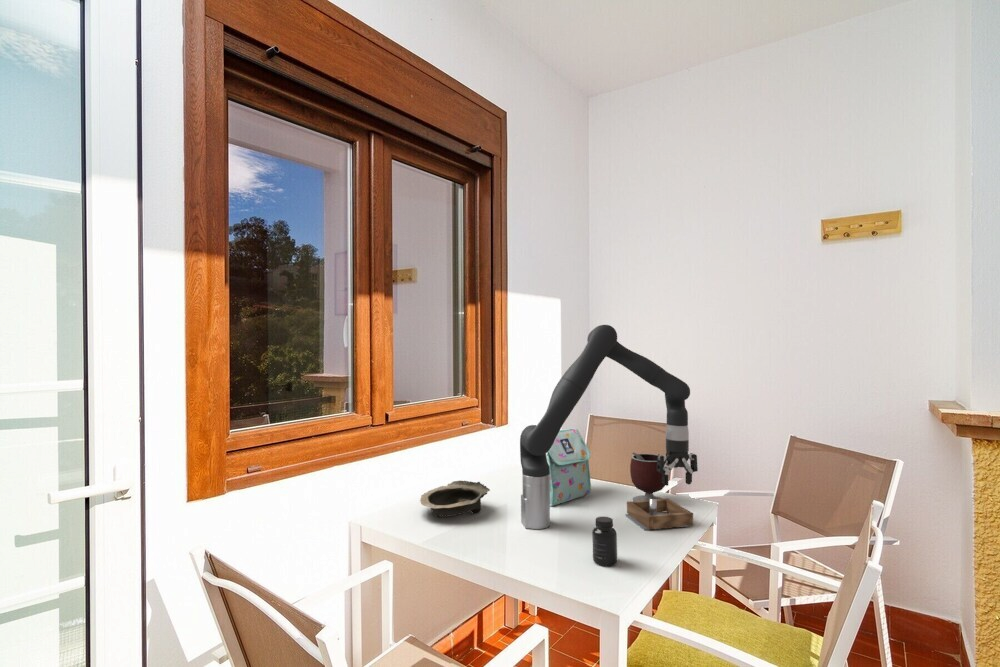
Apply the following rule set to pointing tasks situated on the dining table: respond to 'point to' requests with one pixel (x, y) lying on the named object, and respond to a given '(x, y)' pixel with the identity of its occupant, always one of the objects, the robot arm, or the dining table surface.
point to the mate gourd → (646, 475)
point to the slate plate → (639, 522)
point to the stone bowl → (455, 498)
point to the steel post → (652, 506)
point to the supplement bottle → (604, 542)
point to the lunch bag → (568, 467)
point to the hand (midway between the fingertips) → (677, 484)
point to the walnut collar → (674, 519)
